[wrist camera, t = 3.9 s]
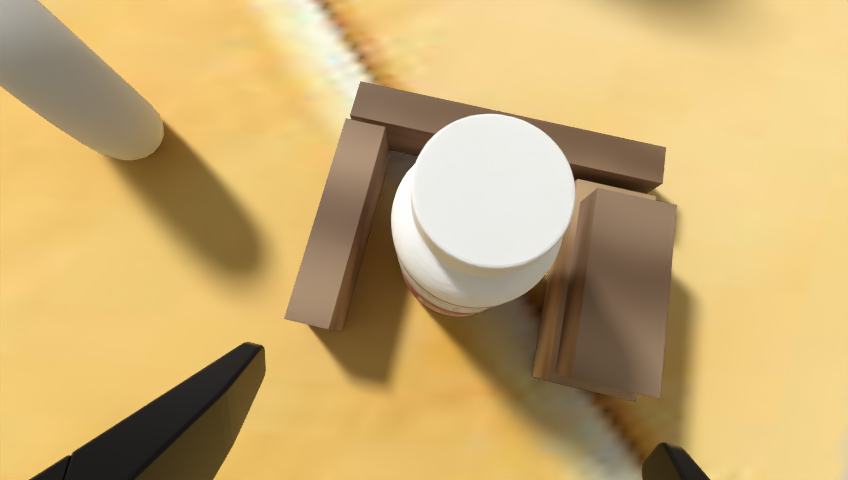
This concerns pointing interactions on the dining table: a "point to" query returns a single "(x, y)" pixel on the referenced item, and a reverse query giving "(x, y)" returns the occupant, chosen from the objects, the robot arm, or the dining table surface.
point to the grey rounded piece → (72, 84)
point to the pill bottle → (481, 214)
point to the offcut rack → (573, 267)
